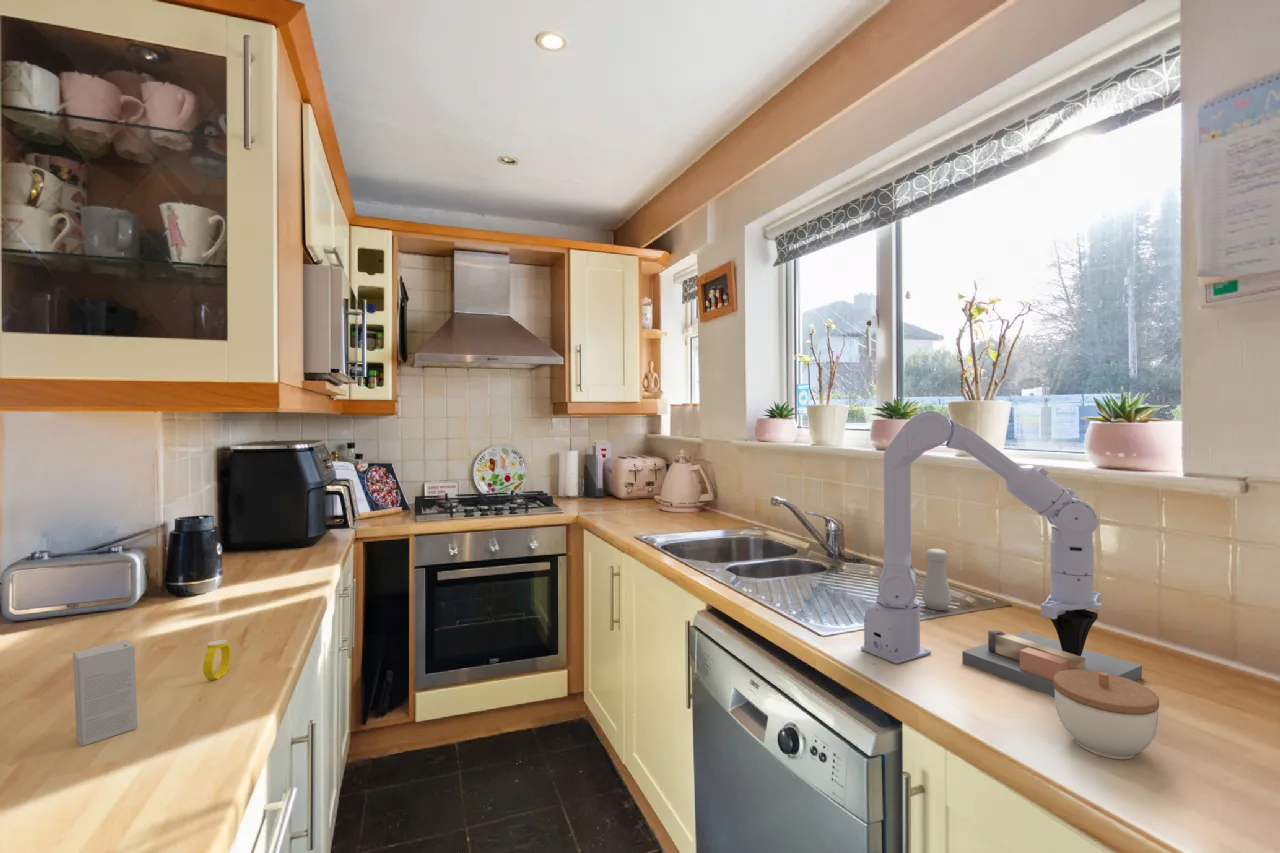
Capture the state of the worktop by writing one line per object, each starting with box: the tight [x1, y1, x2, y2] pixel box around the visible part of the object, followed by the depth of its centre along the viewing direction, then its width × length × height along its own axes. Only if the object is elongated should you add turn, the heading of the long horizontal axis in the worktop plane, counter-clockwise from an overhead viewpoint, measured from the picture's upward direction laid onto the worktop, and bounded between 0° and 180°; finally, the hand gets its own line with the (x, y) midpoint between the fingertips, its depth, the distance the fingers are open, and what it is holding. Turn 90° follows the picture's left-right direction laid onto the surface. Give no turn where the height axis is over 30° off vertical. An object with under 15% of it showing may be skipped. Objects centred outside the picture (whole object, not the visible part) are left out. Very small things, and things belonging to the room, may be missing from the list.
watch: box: [202, 639, 232, 681], centre depth 102 cm, size 6×3×6 cm, turn 9°
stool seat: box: [961, 631, 1143, 698], centre depth 99 cm, size 19×18×5 cm
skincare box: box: [72, 639, 138, 747], centre depth 83 cm, size 6×4×12 cm
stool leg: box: [987, 629, 1085, 670], centre depth 97 cm, size 14×3×3 cm, turn 27°
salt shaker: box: [921, 548, 952, 611], centre depth 132 cm, size 6×6×13 cm
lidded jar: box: [1053, 669, 1160, 761], centre depth 76 cm, size 11×11×9 cm
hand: (1072, 654), depth 97 cm, fingers closed
